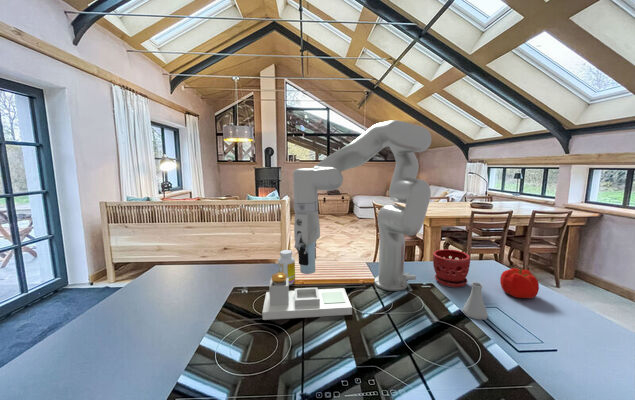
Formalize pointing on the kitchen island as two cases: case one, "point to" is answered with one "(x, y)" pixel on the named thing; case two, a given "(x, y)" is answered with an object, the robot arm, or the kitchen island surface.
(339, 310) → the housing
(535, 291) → the tomato
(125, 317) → the kitchen island surface
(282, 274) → the plunger
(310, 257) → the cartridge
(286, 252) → the supplement bottle
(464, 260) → the plant pot
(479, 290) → the flask
